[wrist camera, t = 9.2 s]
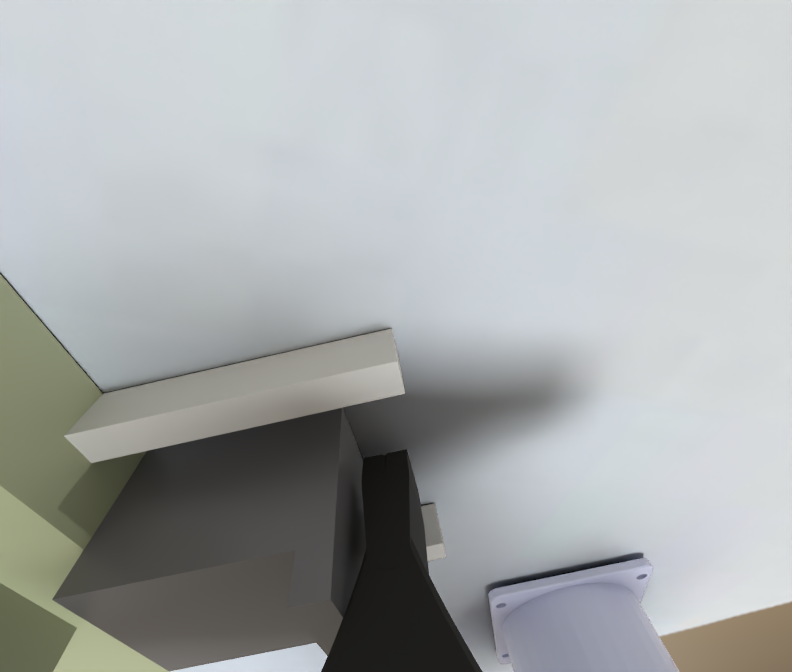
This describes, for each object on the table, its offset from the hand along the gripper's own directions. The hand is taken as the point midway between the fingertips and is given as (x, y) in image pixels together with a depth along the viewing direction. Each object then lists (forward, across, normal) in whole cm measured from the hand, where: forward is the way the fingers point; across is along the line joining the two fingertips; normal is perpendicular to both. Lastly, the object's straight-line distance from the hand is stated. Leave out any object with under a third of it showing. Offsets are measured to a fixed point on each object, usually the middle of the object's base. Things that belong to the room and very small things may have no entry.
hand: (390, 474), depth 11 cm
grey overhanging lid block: (+1, +4, 0) cm, 4 cm away
